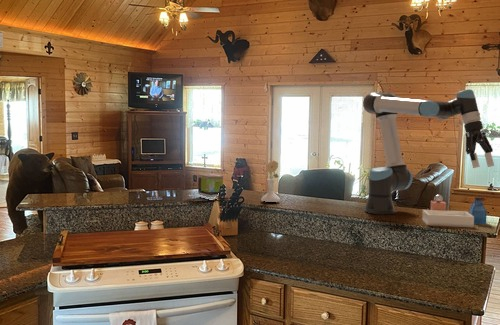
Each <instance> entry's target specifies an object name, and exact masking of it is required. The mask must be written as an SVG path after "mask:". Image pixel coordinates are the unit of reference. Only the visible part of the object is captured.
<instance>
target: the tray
mask: <svg viewBox="0 0 500 325" xmlns="http://www.w3.org/2000/svg"><path fill="white" fill-rule="evenodd" d="M422 221H423V222H424V224H425V225H426V226H432V227H454V228H474V224H475V223H474V216H472V215H471V214H470V213H469V211H467V210H466V211H464V210H463V211H462V210H446V211H443V210H430V209H422Z"/></svg>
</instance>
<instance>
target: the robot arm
mask: <svg viewBox="0 0 500 325" xmlns="http://www.w3.org/2000/svg"><path fill="white" fill-rule="evenodd" d="M476 99H477V98H476V95H475V92H474V90H473V89H463V90H461V91H458V92H457V93H456V97H455V98H454V99H452V100H449V101H443V100H442V101H440V100H439V101H438V100H426V99H416V98H415V99H413V98H412V99H411V98H403V97H398V96H397V95H396V94H393V93H389V92H374V91H373V92H370V93H368V94H367V95H365V97H364V98H363V101H362V106H363V109H364V111H365V112H367V113H369V114H372V115H375V119H376V120H377V121H378V122H379V127H380V133H381V139H382V144H383V145H382V146H383V150H384V156H385V157H384V158H385V163H386V164H385V165H384V166H380V167H374V168H373V167H372V168H371V169H370V170H369V175H368V198H367V200H366V203H365V206H364V212H365V211H366V212H365V213H367V212H368V214H371V213H372V214H373V215H384V214H385V215H394V214H395V207H394V202H393V198H392V193H393V192H396V191H398V192H401V191H403V190H407V189H409V188H410V186H411V185H412V183H413V179H414V177H413V174H412V171H410V169H408V167H407V164H406V163H405V162H404V161H403V157H402V152H401V151H402V150H401V145H400V144H401V143H400V138H399V137H400V136H399V131H398V125H397V119H396V118H398V116H399V114H403V115H410V116H411V115H412V116H418V117H419V116H421V117H425V118H437V119H438V120H440V121H442V120H443V121H444V120H447V119H449V118H452V117H455V116H458V115H461V119H462V123H463V124H464V125H463V126H464V130H465V153H466V155H469V157H470V161H471V164H472V165H471V166H472V169H476V168H480V162H479V159H478V155H477V152H476V147H477V144H479V146H480V148H481V149H482V150H483V151H484V157H485V161H486V165H487V168H490V167H495V163H494V160H493V155H492V152H494V151H493V147H492V145H491V143H490V141H489V140H488V139H489V138H487V135H486V132H485V131H482V130H483V129H484V125H483V122H482V121H481V119H482V118H481V113H480V111H479V107H478V103H477V100H476ZM481 131H482V132H481Z"/></svg>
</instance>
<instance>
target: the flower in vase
mask: <svg viewBox="0 0 500 325" xmlns="http://www.w3.org/2000/svg"><path fill="white" fill-rule="evenodd" d="M278 167H279V163H278V162H277V161H276V160H271V161H268V163H267V165H266V166H265V170H266V172H267V175H268V176H269V177H271V178H267V179H266V181H267V182H268V190H267V193H266V194H264V195H263V196H262V197H261V198H260V200H261V202H263V201H265V202H264V203H266V202H276V203H279V202H280V201H281V198H280V197H279V196H278V195H277V194H276V193H275V192H274V189H273V187H274V182H275V181H276V178H279V175H278V173H275V172H276V171H277V170H278ZM272 173H273V175H271V174H272ZM278 201H279V202H278Z"/></svg>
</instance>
